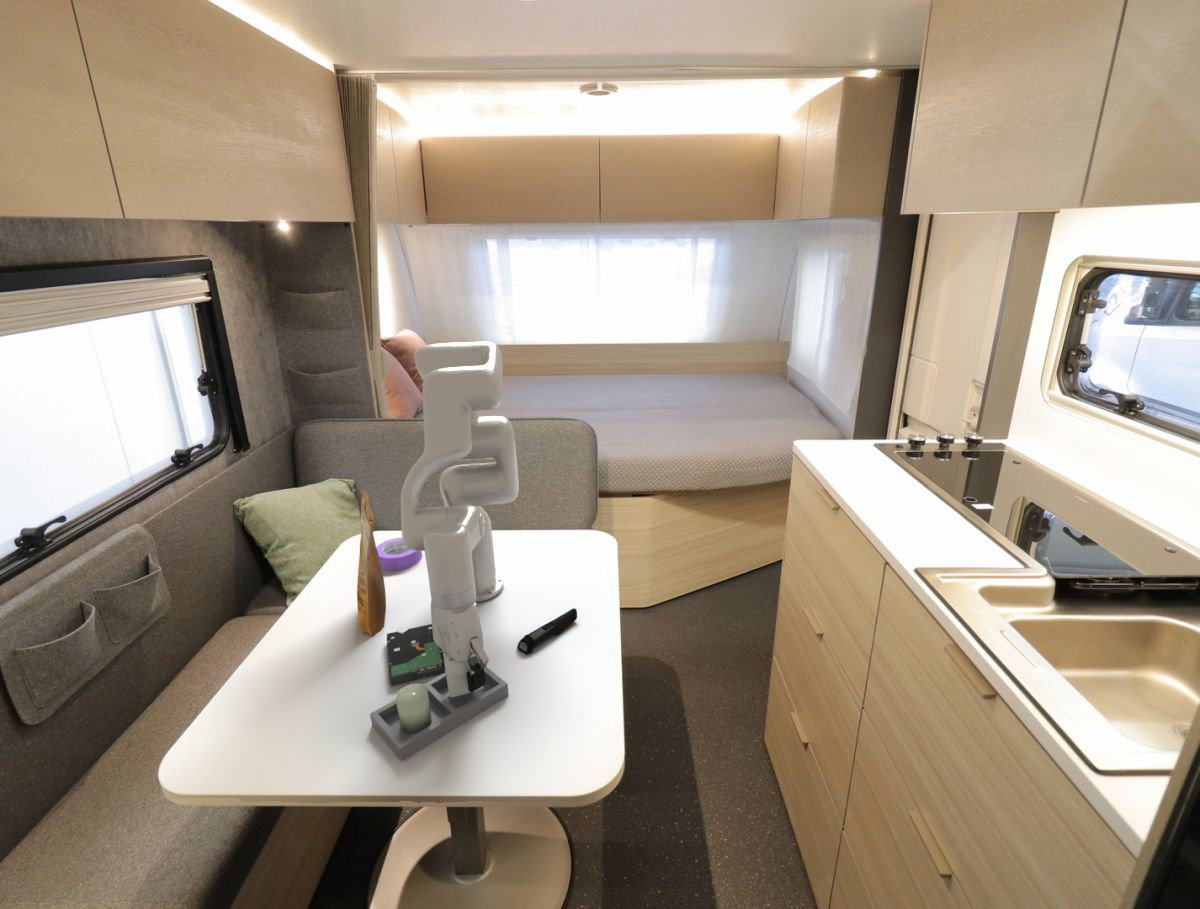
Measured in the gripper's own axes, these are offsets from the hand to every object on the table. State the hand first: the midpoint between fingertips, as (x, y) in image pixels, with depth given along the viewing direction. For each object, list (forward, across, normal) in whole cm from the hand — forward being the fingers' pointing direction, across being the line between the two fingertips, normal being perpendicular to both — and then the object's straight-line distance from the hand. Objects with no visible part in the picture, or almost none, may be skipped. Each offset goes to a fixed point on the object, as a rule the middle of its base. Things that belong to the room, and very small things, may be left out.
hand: (464, 676), depth 110 cm
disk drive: (+5, -17, -1) cm, 18 cm away
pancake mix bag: (+5, -37, 0) cm, 37 cm away
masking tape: (+5, -58, +16) cm, 60 cm away
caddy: (+4, 0, -5) cm, 7 cm away
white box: (+2, 0, 0) cm, 2 cm away
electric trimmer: (+5, -3, +22) cm, 23 cm away
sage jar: (+4, 0, -10) cm, 11 cm away
